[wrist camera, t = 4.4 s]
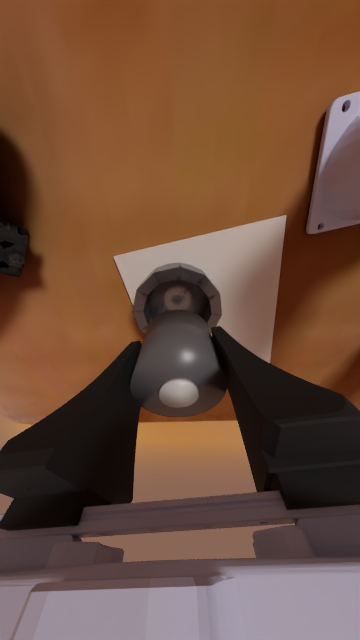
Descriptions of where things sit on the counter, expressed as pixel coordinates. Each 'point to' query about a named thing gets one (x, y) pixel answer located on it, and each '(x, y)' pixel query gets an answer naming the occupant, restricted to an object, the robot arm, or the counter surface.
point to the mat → (226, 275)
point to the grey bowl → (177, 294)
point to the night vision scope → (12, 248)
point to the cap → (178, 367)
